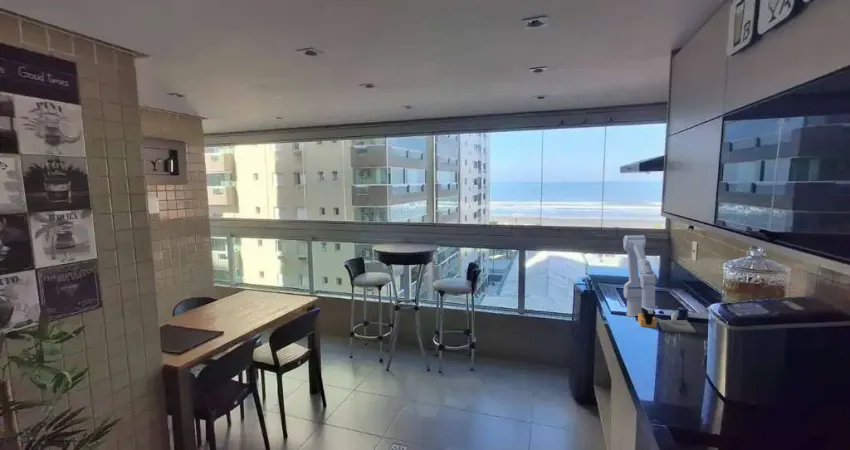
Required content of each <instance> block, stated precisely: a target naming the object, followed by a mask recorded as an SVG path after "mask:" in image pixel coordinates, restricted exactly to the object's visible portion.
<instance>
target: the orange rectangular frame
mask: <svg viewBox="0 0 850 450" xmlns="http://www.w3.org/2000/svg"><path fill="white" fill-rule="evenodd" d="M655 317H656V316H655ZM655 317H653V320H652V324H651V325H647V324H646V321H645V318H644V314H643V312H642V313H638V317H637V321H638V323H639V326H640V327H643V328H646V327H647V328H657V322H656V319H655Z"/></svg>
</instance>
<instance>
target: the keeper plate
mask: <svg viewBox="0 0 850 450" xmlns="http://www.w3.org/2000/svg"><path fill="white" fill-rule="evenodd" d="M657 317H658V316H655V318H656V321H657V322H656V324H657V325H658V327H659V328H660V330H661V331H662V332H670V333H671V332H673V333H685V334H687V333H688V334H696V333H697V331H696V329H695V328H694V327H693V326H692V325H691V323H690V322H689V321H688V320H687V319H686V320H677V318H678V314H676V313H675V312H672V313H671V315H670V317H671V320H669V319H668V320H661V319H660V318H657Z"/></svg>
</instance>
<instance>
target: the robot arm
mask: <svg viewBox="0 0 850 450" xmlns="http://www.w3.org/2000/svg"><path fill="white" fill-rule="evenodd" d="M622 241H623V242H622V245H623V251H625V252H626V255H627V266H628V267H627V270H628V281H626V283H624V284H623V289H622V290H623V291H622V292H623V297H624V298H625V299H626V310H625V311H626V312H627V313H626V312H625V315H626V314H627V315H626V316H627V317H630V318H636V317H635V316H638V313H642V314H644V318H645V321H646V324H647V325H651V324H652V320H653V317H654V316H655V315H656V313H657V312H656V311H655V309H658V308H659V307H658V305H656V285H657V284H658V276H657V274H656V272H655V271H654V270H653V269H652V265H651V263H650V261H649V260H648V259H647V257H646V251H645V248H646V244H647V239H646V236H645V235H644V234H641V235H639V234H638V235H636V234H635V235H624V237H623V240H622Z"/></svg>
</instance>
